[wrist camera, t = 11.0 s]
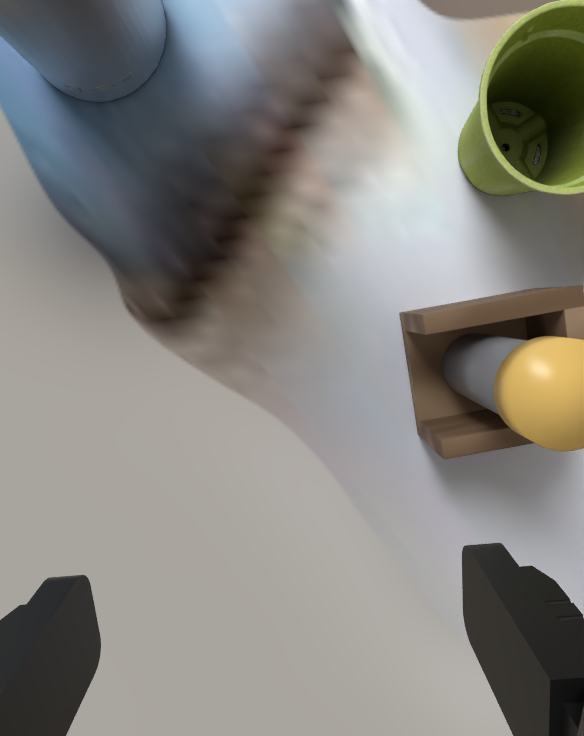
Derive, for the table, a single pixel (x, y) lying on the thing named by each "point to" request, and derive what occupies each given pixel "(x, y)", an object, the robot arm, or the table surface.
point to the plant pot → (531, 107)
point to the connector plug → (524, 384)
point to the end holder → (484, 316)
